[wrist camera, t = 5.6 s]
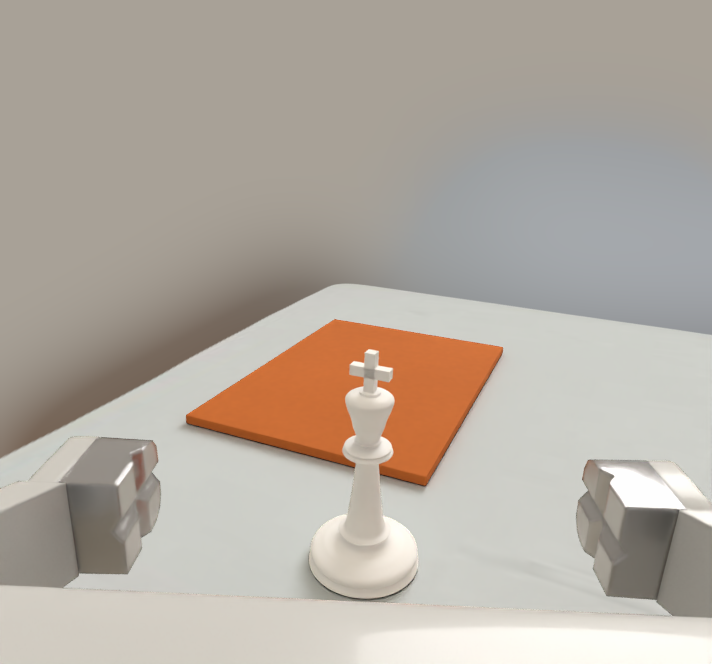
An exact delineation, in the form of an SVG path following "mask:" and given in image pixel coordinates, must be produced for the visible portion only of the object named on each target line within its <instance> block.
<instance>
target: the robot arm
mask: <svg viewBox="0 0 712 664" xmlns="http://www.w3.org/2000/svg"><path fill="white" fill-rule="evenodd" d="M157 463H158V455H157V447H156V445H155V443H154V442H153V440H138V439H121V438H105V437H102V438H100V437H91V436H74V437H70V438H69V439H68V440H67V441H66V442H65V443H64V444H63V445H62V446H61V447H60V448H59V449H58V450H57V451H56V452H55V453H54V454H53V455H52V456H51V457H50V458H49V459H48V460H47V461H46V462H45V463H44V464H43V465H42V466H41V467H40V468H39V469H38V470H37V471H36V473H35V474H34V475H33V476H32V477H31V478H30V479H29V480H28V481H17V482H15V483H12V484H10V485H7V486H5V487H2V488H0V664H712V503H711V502H710V501H709V500H708V499H707V498H706V496H705V495H704V494H703V493H702V492H701V491H700V490H699V489H698V487H697V486H696V485H695V484H694V483H693V482H692V481H691V480H690V479H689V477H688V476H687V475H686V474H685V473H684V472H683V471H682V470H681V468H680V467H679V466H678V465H677V464H676V463H674V462H671V461H646V460H588V461H587V464H586V466H585V468H584V473H583V478H582V480H583V482H584V484H585V486H586V487H587V489H588V491H587V492H586V493H585V494H584V495H583V496H582V497H581V498H580V499H579V500H578V506H577V513H576V523H577V533H578V537H579V541H580V543H581V545H582V547H583V550H584V551H585V552H586V553H587V554H589V555H590V556H592V557H593V558H595V560H594V565H593V570H594V572H595V574H596V576H597V578H598V580H599V582H600V584H601V586H602V588H603V590H604V592H605V594H606V596H611V597H624V598H638V599H652V600H657V601H656V602H657V603H658V604H659V605H661V606H662V607H663V608H664V609H665V610H667V611H668V612H669V613H670V614H671V615H672V616H663V615H641V614H619V613H598V612H576V611H554V610H532V609H510V608H489V607H467V606H445V605H423V604H402V603H380V602H358V601H337V600H315V599H293V598H272V597H250V596H228V595H206V594H185V593H163V592H141V591H120V590H98V589H76V588H63V587H64V586H66V585H67V584H68V583H70V582H71V581H73V580H74V579H75V578H77V577H78V576H79V573H86V574H128V573H129V571H130V569H131V568H132V566H133V564H134V562H135V560H136V559H137V557H138V555H139V553H140V551H141V549H142V542H141V538H142V537H143V536H145V535H147V534H148V533H150V532H151V531H152V529H153V527H154V525H155V523H156V521H157V517H158V513H159V509H160V501H161V488H160V481H159V480H158V479H157V478H156V477H155V475H154V474H153V473H152V471H153V469H154V468H155V466H156V464H157Z"/></svg>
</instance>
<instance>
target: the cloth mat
mask: <svg viewBox="0 0 712 664" xmlns="http://www.w3.org/2000/svg"><path fill="white" fill-rule="evenodd" d="M368 349H371V350H376V351H379V360H378V366H384V367H389V368H393V378H392V379H391V381H390V382H385V381H379V380H378V383H377V387H379V388H383V389H385V390H387V391H389V392H390V393H391V394H392V395H393V397H394V400H395V402H394V406H393V409H392V411H391V413H390V415H389V417H388V419H387V422H386V425H385V428H384V430H383V433H382V435H381V436H382V437H384V438H386V439H387V440H388V441H389V442H390V443H391V445H392V448H393V455H392V457H391V458H390V459H389V460H388V461H386V462H384V463H381V464H379V474H382V475H386V476H390V477H393V478H397V479H401V480H405V481H409V482H412V483H416V484H420V485H424V486H426V484H427V483H428V481H429V479H430V478H431V476H432V474H433V472H434V471H435V469H436V467H437V465H438V464H439V462H440V460H441V458H442V457H443V455H444V453H445V452H446V450H447V448H448V446H449V445H450V443H451V441H452V439H453V438H454V436H455V434H456V433H457V431H458V429H459V427H460V426H461V424H462V422H463V420H464V419H465V417H466V415H467V413H468V412H469V410H470V408H471V407H472V405H473V403H474V401H475V400H476V398H477V396H478V394H479V393H480V391H481V389H482V388H483V386H484V384H485V382H486V381H487V379H488V377H489V375H490V374H491V372H492V370H493V368H494V367H495V365H496V363H497V362H498V360H499V358H500V356H501V355H502V353H503V347H499V346H493V345H486V344H480V343H474V342H468V341H462V340H456V339H450V338H444V337H438V336H432V335H426V334H420V333H414V332H408V331H402V330H396V329H390V328H384V327H378V326H372V325H366V324H360V323H354V322H348V321H342V320H336V319H334V320H333V321H331V322H330V323H328V324H327V325H325V326H324V327H322V328H320V329H319V330H317V331H316V332H314V333H313V334H311V335H310V336H308V337H306V338H305V339H303V340H302V341H300V342H299V343H297V344H296V345H294V346H292V347H291V348H289V349H288V350H286V351H285V352H283V353H282V354H280V355H279V356H277V357H275V358H274V359H272V360H271V361H269V362H268V363H266V364H265V365H263V366H261V367H260V368H258V369H257V370H255V371H254V372H252V373H251V374H249V375H248V376H246V377H244V378H243V379H241V380H240V381H238V382H237V383H235V384H234V385H232V386H230V387H229V388H227V389H226V390H224V391H223V392H221V393H220V394H218V395H217V396H215V397H213V398H212V399H210V400H209V401H207V402H206V403H204V404H203V405H201V406H199V407H198V408H196V409H195V410H193V411H192V412H190V413H189V414H187V415H186V422H187V423H188V424H192V425H196V426H200V427H204V428H207V429H211V430H215V431H219V432H223V433H226V434H230V435H234V436H238V437H242V438H245V439H249V440H253V441H257V442H261V443H264V444H268V445H272V446H276V447H280V448H283V449H287V450H291V451H295V452H298V453H302V454H306V455H310V456H314V457H317V458H321V459H325V460H329V461H333V462H336V463H340V464H344V465H348V466H352V467H355V465H356V463H354V462H352V461H350V460H348V459H347V458H346V457H345V456H344V455H343V452H342V449H343V446H344V443H345V441H346V440H347V439H348V438H350V437H352V436H355V435H356V434H355V431H354V428H353V425H352V421H351V417H350V414H349V412H348V410H347V407H346V403H345V397H346V395H347V393H348V392H349V391H351V390H353V389H355V388H358V387H363V386H364V377H359V376H353V375H349V370H350V364H351V363H352V362H353V361H356V362H362V363H364V358H365V352H366V351H367V350H368Z"/></svg>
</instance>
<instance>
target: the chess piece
mask: <svg viewBox="0 0 712 664" xmlns="http://www.w3.org/2000/svg"><path fill="white" fill-rule="evenodd" d="M378 360H379V351H376V350H371V349H368V350H367V351H366V352H365V358H364V363H362V362H356V361H353V362H352V363H351V364H350V370H349V375H353V376H359V377H364V386H363V387H358V388H355V389H353V390H351V391H349V392H348V393H347V395H346V397H345V403H346V407H347V410H348V412H349V414H350V417H351V421H352V425H353V428H354V431H355V434H356V435H355V436H352V437H350V438H348V439H347V440H346V441H345V443H344V446H343V449H342V452H343V455H344V456H345V457H346V458H347V459H348V460H350V461H352V462H354V463H356V465H355V472H354V480H353V486H352V492H351V498H350V503H349V509H348V514H344V515H341V516H338V517H335V518H333V519H331V520H329V521H328V522H326V523H325V524H323V525H322V526H321V527H320V528H319V529H318V530H317V531H316V533H315V534H314V536H313V538H312V541H311V548H310V552H309V565H310V568H311V571H312V573H313V574H314V576H315V577H316V579H317V580H318V581H319V582H320V583H321V584H323V585H324V586H325V587H327V588H328V589H330V590H332V591H334V592H336V593H338V594H341V595H344V596H348V597H353V598H361V599H371V598H380V597H384V596H388V595H391V594H393V593H396V592H398V591H399V590H401V589H403V588H404V587H405V586H407V585H408V584H409V583H410V582H411V581H412V579H413V578H414V576H415V574H416V572H417V569H418V564H419V560H418V550H417V544H416V541H415V539H414V537H413V536H412V534H411V533H410V532H409V531H408V529H407V528H405V527H404V526H403V525H402V524H400V523H399V522H397V521H395V520H393V519H391V518H389V517H386V516H383V510H382V500H381V489H380V475H379V464H381V463H384V462H386V461H388V460H389V459H390V458H391V457H392V455H393V448H392V445H391V443H390V442H389V441H388V440H387V439H386V438H384V437H382V436H381V435H382V433H383V430H384V428H385V425H386V422H387V419H388V417H389V415H390V413H391V411H392V409H393V406H394V402H395V400H394V397H393V395H392V394H391V393H390V392H389V391H387V390H385V389H383V388H379V387H377V383H378V380H379V381H385V382H390V381H391V379H392V378H393V368H389V367H384V366H378Z"/></svg>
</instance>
